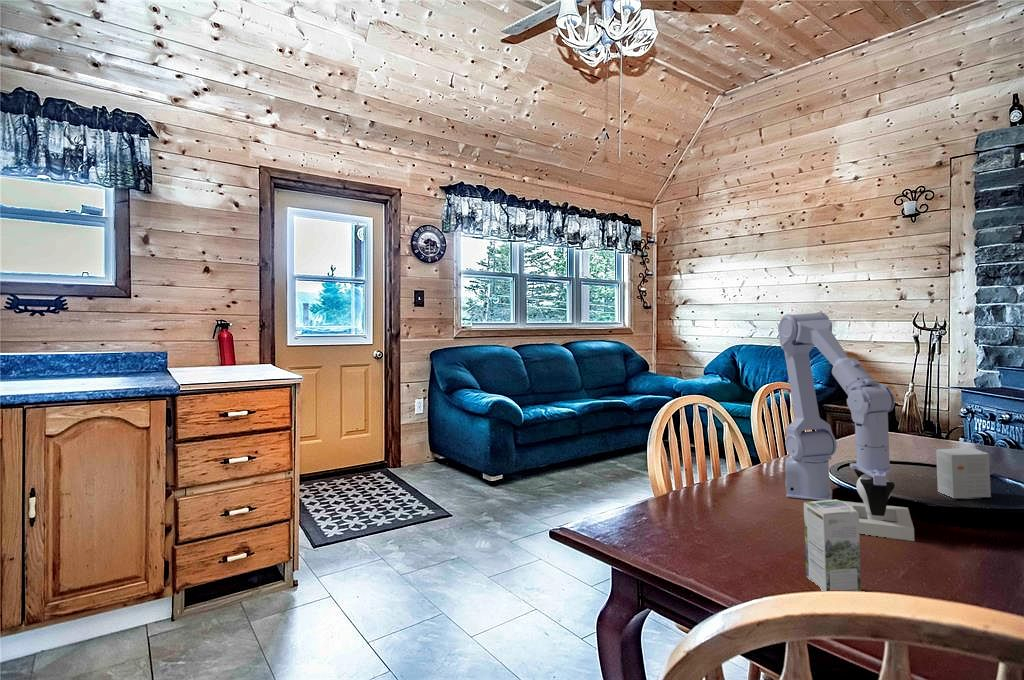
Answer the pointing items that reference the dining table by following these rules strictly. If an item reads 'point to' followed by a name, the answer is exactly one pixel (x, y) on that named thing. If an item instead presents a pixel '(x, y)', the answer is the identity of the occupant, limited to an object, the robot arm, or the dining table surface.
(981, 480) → the small box
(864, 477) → the lightbulb
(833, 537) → the syrup box
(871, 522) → the white shallow tray
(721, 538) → the dining table surface
